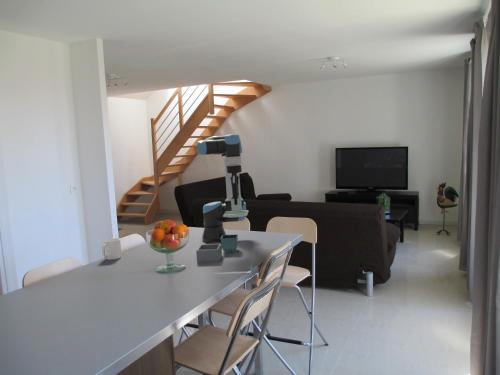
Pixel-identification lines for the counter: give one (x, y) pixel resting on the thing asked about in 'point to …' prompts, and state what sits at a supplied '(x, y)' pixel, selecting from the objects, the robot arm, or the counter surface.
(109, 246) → the cup
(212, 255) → the tub
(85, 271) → the counter surface
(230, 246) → the flower pot
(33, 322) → the counter surface
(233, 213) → the lid
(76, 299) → the counter surface
